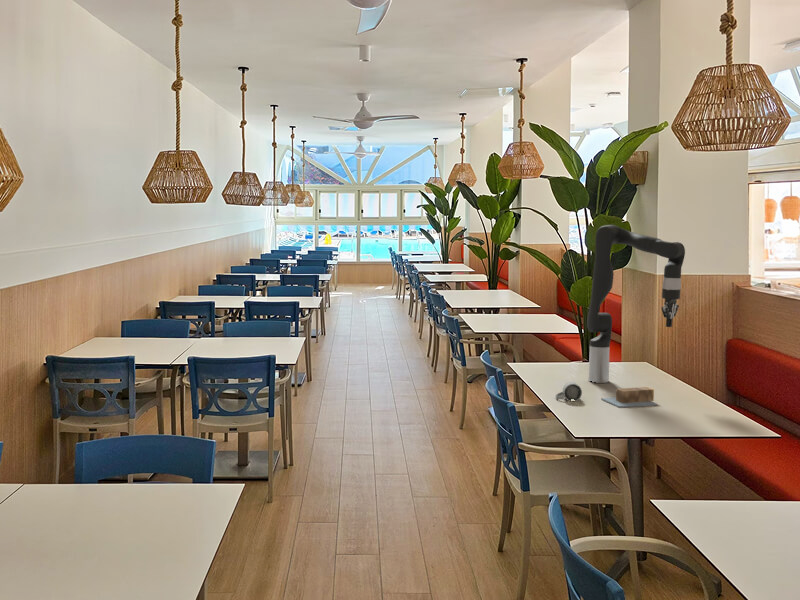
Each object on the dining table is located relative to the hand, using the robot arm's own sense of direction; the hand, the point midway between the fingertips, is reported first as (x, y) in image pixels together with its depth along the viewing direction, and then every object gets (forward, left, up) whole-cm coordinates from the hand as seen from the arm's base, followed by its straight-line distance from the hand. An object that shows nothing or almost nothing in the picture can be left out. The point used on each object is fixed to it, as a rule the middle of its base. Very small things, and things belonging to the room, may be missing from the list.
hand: (668, 326), depth 318 cm
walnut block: (+16, +1, -27) cm, 32 cm away
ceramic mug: (+40, -25, -31) cm, 56 cm away
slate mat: (+25, -5, -31) cm, 40 cm away
